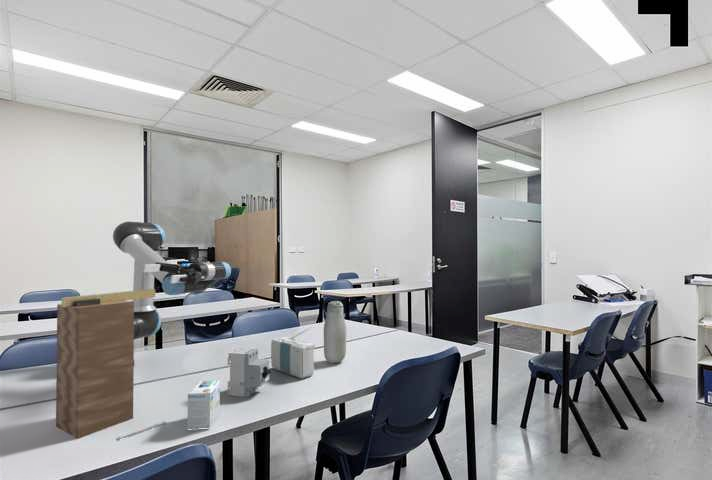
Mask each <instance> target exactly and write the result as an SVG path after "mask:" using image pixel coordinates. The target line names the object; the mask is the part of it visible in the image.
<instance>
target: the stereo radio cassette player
mask: <svg viewBox="0 0 712 480" xmlns="http://www.w3.org/2000/svg"><path fill="white" fill-rule="evenodd" d="M310 329H312V326H310V327H309V328H307V329H305V330H304V331H301V332H300V333H297V334H296V335H294V336H293V337H290V336H283V337H277V338H273V339H271V342H270V343H271V345H270V359H271V361H270V362H271V368H273V369H274V370H277V371H280V372H283V373H285V374H287V375H290V376H293V377H296V378H299V379H301V380H303V379H305V378H309V377H310V376H311V377H312V376H313V375H314V373H315V371H314V370H315V368H314V367H315V365H314V362H315V359H314V357H315V356H314V354H315V353H314V352H315V347H316V346H315V343H312V342H308V341H305V340H300V339H297V338H296V337H297V336H298V337H299V336H300V335H301V334H303V333H305V332H306V331H308V330H310Z"/></svg>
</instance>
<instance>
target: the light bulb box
mask: <svg viewBox="0 0 712 480" xmlns="http://www.w3.org/2000/svg"><path fill="white" fill-rule="evenodd" d="M220 383H221V381H220V380H204V381H203V380H202V381H201V380H199V381H198V382H197V383H196V385H195V386H193V388H192V389H191V390H190V391H189V392H188V393H187V429H199V428H210V427H211V426H212V427H213V425H214V424H215V422H216V420H217V419H216V418H218V417H219V416H220V410H221V409H220V405H221V404H220V403H221V399H220V398H221V397H220V392H221V391H220V389H221V388H220V387H221V384H220ZM214 421H215V422H214ZM212 424H213V425H212ZM212 427H211V428H212ZM211 428H210V429H211Z"/></svg>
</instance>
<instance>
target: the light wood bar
mask: <svg viewBox="0 0 712 480" xmlns="http://www.w3.org/2000/svg"><path fill="white" fill-rule="evenodd" d="M151 297H153V298H156V289H154V290H153V289H148V290H137V291H133V290H129V291H120V292H119V291H117V292H108V293H107V292H106V293H98V294H97V293H95V294H86V295H76V296H67V297H61V302H60V304H61V306H62V307H73V306H75V301H82V300H91V299H100V303H108V302H116V301H131V300H132V301H133V300H134V299H143V298H151Z"/></svg>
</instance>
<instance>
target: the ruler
mask: <svg viewBox="0 0 712 480" xmlns="http://www.w3.org/2000/svg"><path fill="white" fill-rule="evenodd" d="M162 425H163V426H165V425H167V422H166V420H164V421H160V422H158V423H155V424H151V425H149V426H145V427H143V428H140V429H139V428H138V429H136V430H134V431H131V432H129V433H128V432H127V433H125V434H122V435H119V436H118V437H117V439H118V441H121V440H120V439H122V438H125V439H127V437H128V438H130V437H133V436H136V435H139V434H142V433H145V432H148V431H150V429H151V430H153V429H152V428H154V429H157V428H159V426H160V427H162ZM156 427H157V428H156ZM147 430H148V431H147ZM144 431H145V432H144ZM122 440H123V439H122Z"/></svg>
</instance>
